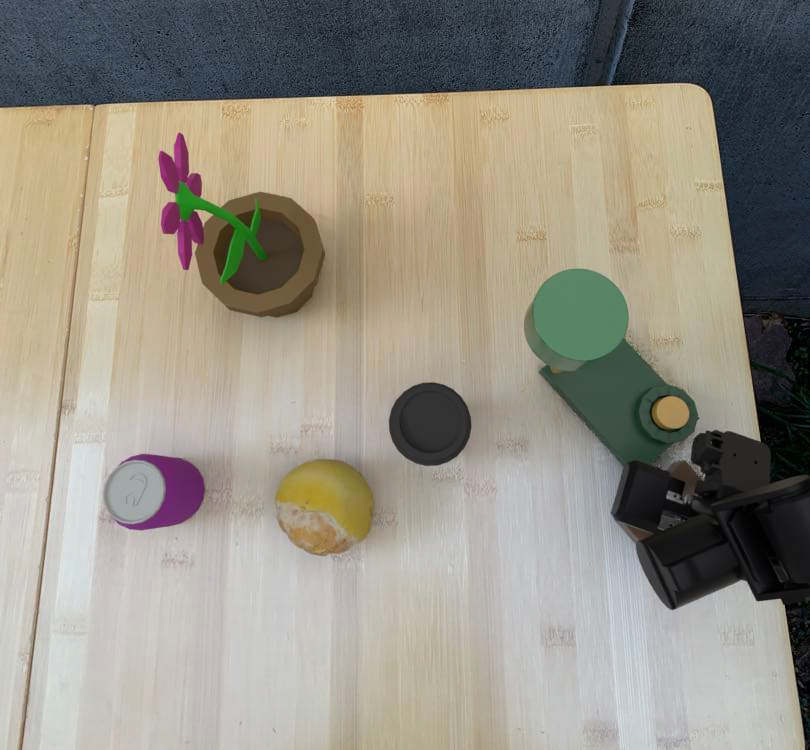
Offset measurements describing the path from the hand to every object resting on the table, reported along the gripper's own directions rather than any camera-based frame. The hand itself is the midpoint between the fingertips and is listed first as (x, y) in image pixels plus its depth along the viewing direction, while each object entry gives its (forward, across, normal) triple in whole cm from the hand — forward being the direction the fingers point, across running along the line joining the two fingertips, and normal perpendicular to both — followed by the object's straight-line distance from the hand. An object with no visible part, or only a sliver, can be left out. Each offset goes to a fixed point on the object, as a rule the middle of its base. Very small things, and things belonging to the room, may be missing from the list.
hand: (681, 518), depth 74 cm
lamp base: (+4, +10, -11) cm, 15 cm away
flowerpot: (+4, +54, -11) cm, 55 cm away
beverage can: (+4, +55, +17) cm, 57 cm away
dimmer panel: (+4, 0, 0) cm, 4 cm away
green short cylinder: (-18, +20, -11) cm, 29 cm away
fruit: (+4, +37, +12) cm, 39 cm away
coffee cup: (+4, +29, 0) cm, 29 cm away
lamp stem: (+4, +17, -12) cm, 21 cm away
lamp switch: (0, +4, -11) cm, 11 cm away
